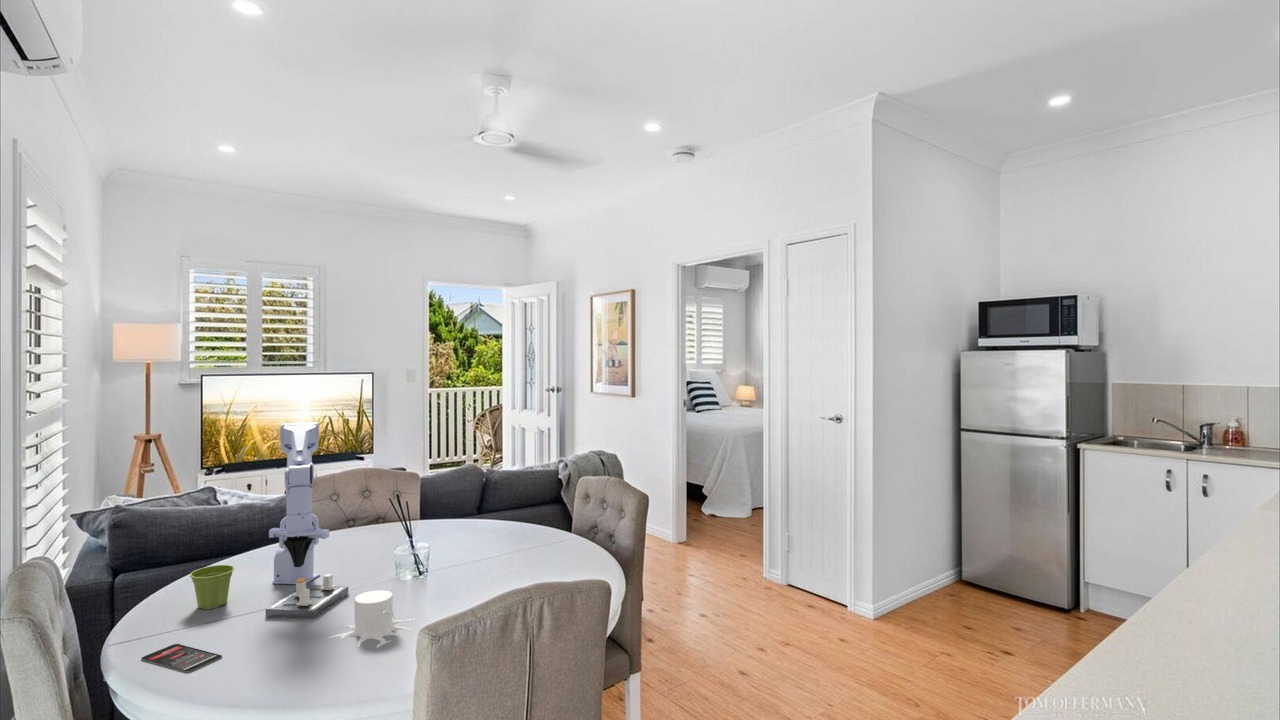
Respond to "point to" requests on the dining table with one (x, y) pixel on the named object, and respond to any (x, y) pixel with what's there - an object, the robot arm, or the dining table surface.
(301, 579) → the breaker mid
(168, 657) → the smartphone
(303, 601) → the block
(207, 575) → the plant pot
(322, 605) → the panel
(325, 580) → the breaker far
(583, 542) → the dining table surface
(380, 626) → the tree stump
